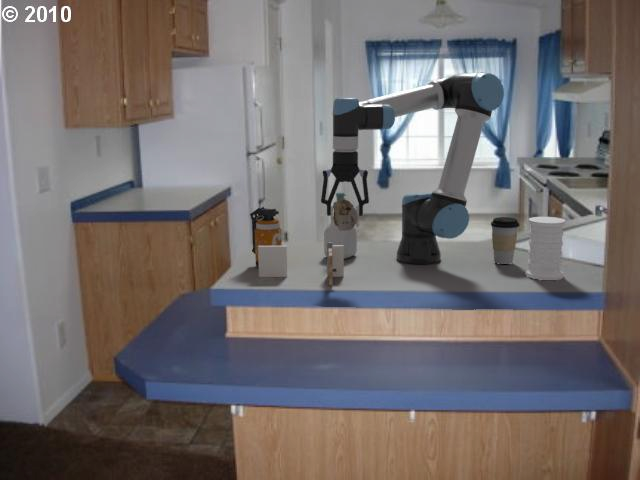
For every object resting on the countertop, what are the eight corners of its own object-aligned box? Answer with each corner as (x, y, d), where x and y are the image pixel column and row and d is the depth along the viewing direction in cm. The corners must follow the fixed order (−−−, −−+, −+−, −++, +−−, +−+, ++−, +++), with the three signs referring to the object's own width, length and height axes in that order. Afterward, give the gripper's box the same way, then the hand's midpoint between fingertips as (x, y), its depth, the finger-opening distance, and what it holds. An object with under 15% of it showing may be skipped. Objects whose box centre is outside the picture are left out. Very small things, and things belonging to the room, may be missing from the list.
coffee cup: (487, 265, 246) (488, 221, 242) (491, 258, 254) (493, 216, 251) (515, 267, 242) (518, 222, 239) (519, 260, 251) (521, 217, 248)
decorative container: (545, 283, 224) (548, 224, 220) (517, 274, 233) (519, 219, 229) (571, 277, 230) (574, 220, 226) (542, 269, 239) (545, 215, 235)
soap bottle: (359, 255, 262) (358, 191, 257) (345, 260, 254) (345, 195, 249) (336, 252, 267) (335, 190, 262) (321, 257, 259) (321, 193, 254)
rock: (361, 227, 216) (355, 194, 217) (339, 231, 216) (333, 197, 217) (356, 232, 228) (350, 201, 229) (335, 236, 228) (329, 204, 229)
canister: (272, 270, 242) (270, 211, 238) (245, 266, 248) (243, 208, 244) (287, 265, 249) (286, 206, 245) (261, 261, 255) (259, 204, 251)
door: (328, 275, 233) (328, 247, 231) (335, 275, 233) (335, 247, 231) (329, 285, 222) (329, 256, 220) (336, 285, 222) (336, 256, 220)
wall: (343, 275, 235) (343, 241, 233) (343, 276, 233) (343, 243, 231) (259, 275, 236) (258, 242, 234) (258, 277, 234) (257, 243, 232)
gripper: (378, 149, 223) (376, 224, 227) (311, 149, 223) (311, 223, 227) (379, 151, 215) (378, 228, 220) (311, 151, 215) (311, 228, 220)
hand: (344, 226), depth 224 cm, fingers closed on rock, 7 cm apart
